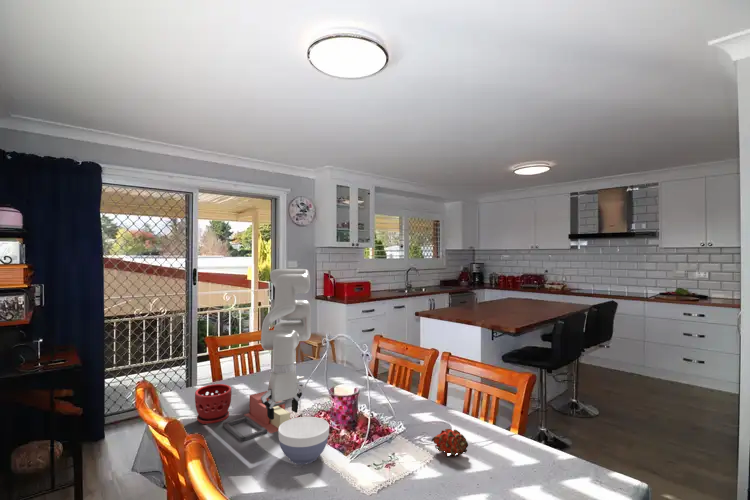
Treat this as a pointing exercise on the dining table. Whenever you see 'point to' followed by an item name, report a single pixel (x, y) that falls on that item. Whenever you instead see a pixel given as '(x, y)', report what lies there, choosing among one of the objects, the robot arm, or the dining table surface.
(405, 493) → the dining table surface
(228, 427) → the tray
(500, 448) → the dining table surface
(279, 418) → the cream chunky block
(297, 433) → the bowl
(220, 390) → the plant pot
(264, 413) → the dispenser
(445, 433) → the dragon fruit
